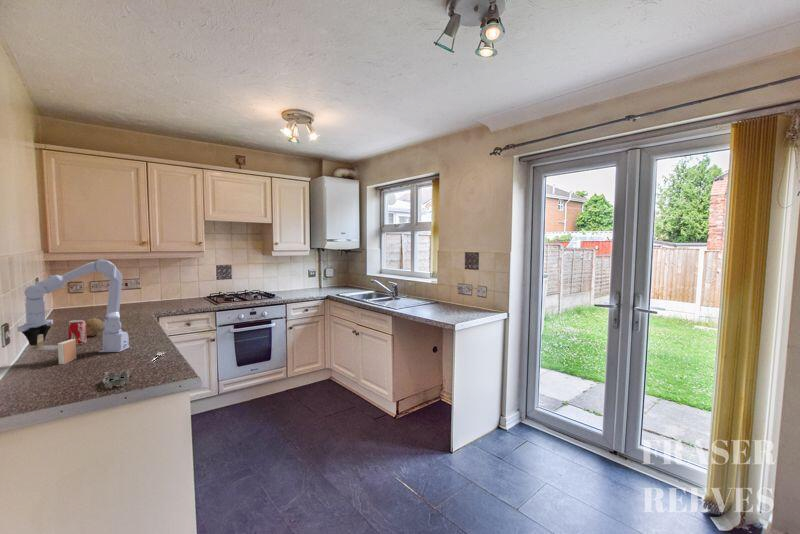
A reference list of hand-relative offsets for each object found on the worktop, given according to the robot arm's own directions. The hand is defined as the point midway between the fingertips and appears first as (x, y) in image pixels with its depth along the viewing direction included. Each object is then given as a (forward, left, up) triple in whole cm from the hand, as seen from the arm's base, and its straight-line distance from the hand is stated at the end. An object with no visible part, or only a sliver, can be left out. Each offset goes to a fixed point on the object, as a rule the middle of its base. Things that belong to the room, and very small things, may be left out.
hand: (37, 344), depth 152 cm
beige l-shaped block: (-3, 0, -2) cm, 4 cm away
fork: (-48, +4, -8) cm, 49 cm away
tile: (-12, 0, -8) cm, 14 cm away
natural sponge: (+7, -44, -8) cm, 45 cm away
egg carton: (-48, +27, -8) cm, 56 cm away
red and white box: (+4, -28, -8) cm, 29 cm away
